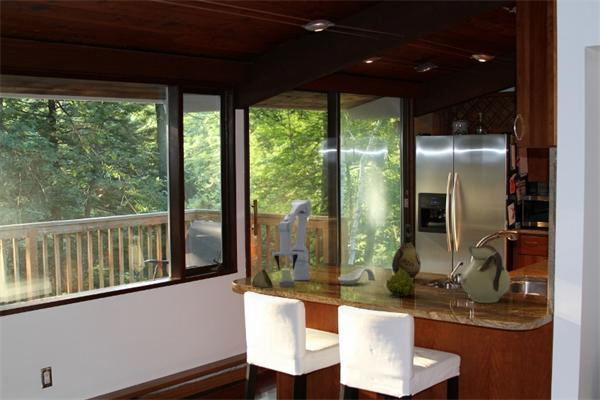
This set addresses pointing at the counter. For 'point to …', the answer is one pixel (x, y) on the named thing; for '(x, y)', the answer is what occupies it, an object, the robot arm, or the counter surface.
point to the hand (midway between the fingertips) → (286, 269)
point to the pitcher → (485, 275)
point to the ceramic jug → (407, 256)
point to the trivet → (286, 283)
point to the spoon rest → (355, 276)
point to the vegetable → (400, 284)
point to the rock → (262, 279)
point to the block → (285, 274)
